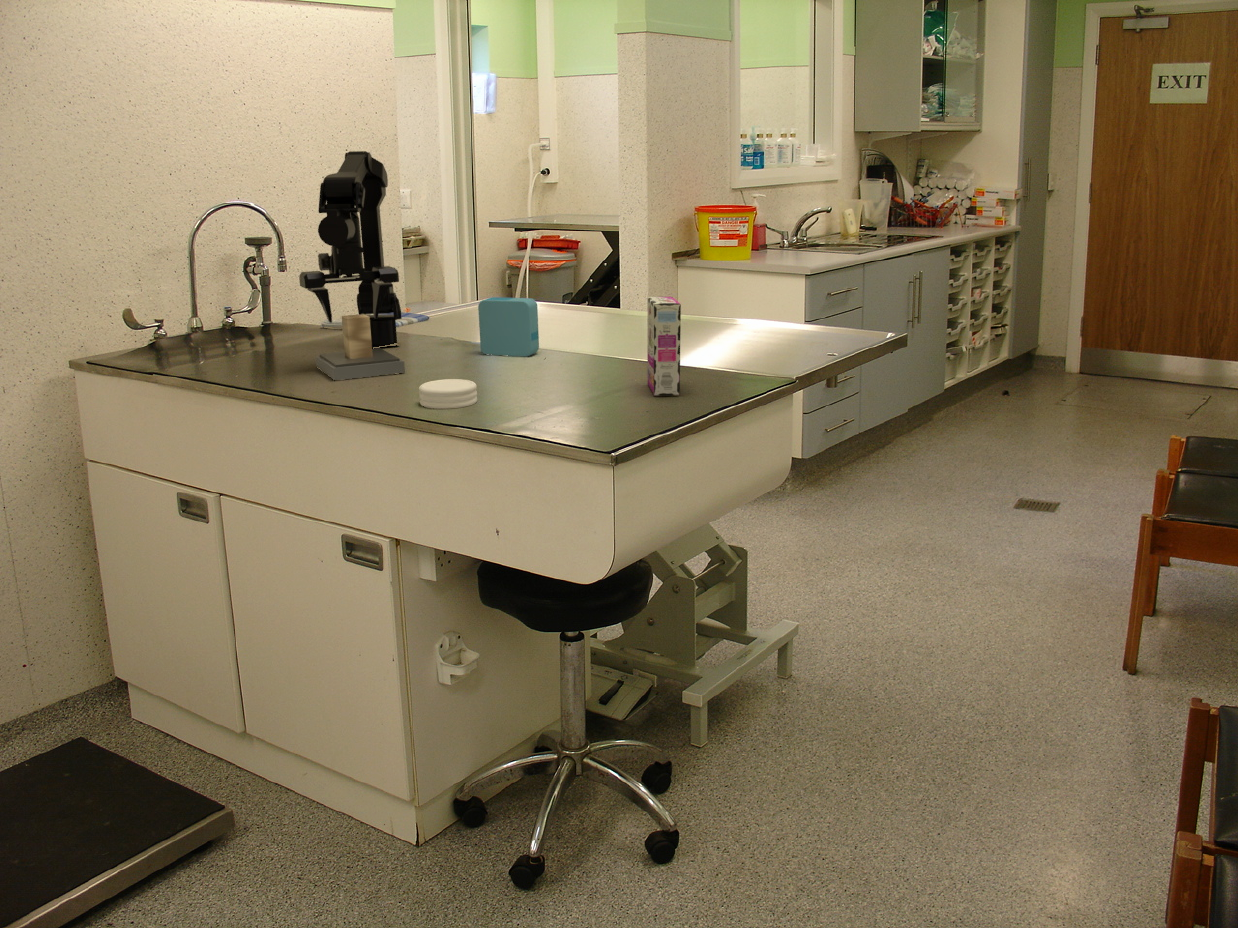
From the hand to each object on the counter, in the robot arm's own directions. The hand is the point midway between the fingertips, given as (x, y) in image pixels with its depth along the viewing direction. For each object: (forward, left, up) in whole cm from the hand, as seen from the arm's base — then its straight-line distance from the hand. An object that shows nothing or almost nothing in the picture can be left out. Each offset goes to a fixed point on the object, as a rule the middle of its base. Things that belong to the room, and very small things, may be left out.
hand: (353, 320), depth 219 cm
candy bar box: (-43, +52, -10) cm, 68 cm away
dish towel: (-20, -59, -11) cm, 64 cm away
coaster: (-6, +41, -10) cm, 42 cm away
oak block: (0, +3, -7) cm, 7 cm away
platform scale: (0, +3, -10) cm, 10 cm away
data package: (-33, +2, -10) cm, 35 cm away
